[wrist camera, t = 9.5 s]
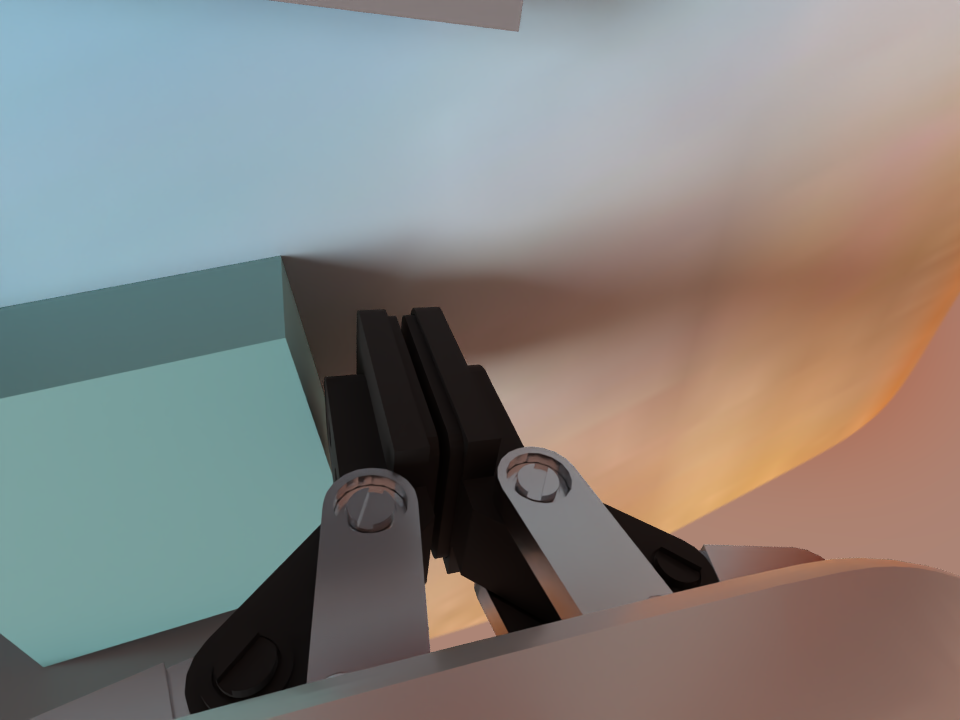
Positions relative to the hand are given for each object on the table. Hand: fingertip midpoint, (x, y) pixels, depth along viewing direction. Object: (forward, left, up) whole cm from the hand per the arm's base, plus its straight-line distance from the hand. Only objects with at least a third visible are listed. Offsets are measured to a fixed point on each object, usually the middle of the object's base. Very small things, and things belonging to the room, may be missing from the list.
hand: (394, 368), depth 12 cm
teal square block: (+2, -5, -2) cm, 6 cm away
